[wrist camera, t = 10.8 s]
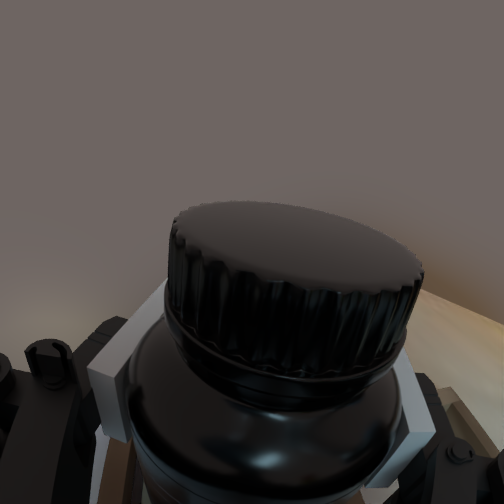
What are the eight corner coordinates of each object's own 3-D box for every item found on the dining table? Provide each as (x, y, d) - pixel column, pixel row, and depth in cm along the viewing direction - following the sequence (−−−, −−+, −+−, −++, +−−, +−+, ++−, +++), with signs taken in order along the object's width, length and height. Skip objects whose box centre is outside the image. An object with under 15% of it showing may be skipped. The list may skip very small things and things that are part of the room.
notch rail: (438, 406, 18) (450, 386, 17) (498, 498, 9) (518, 480, 8) (124, 419, 15) (120, 396, 14) (101, 573, 6) (89, 565, 5)
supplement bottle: (180, 431, 14) (195, 179, 9) (315, 460, 13) (413, 223, 9) (128, 542, 7) (16, 247, 3) (303, 581, 6) (552, 355, 2)
